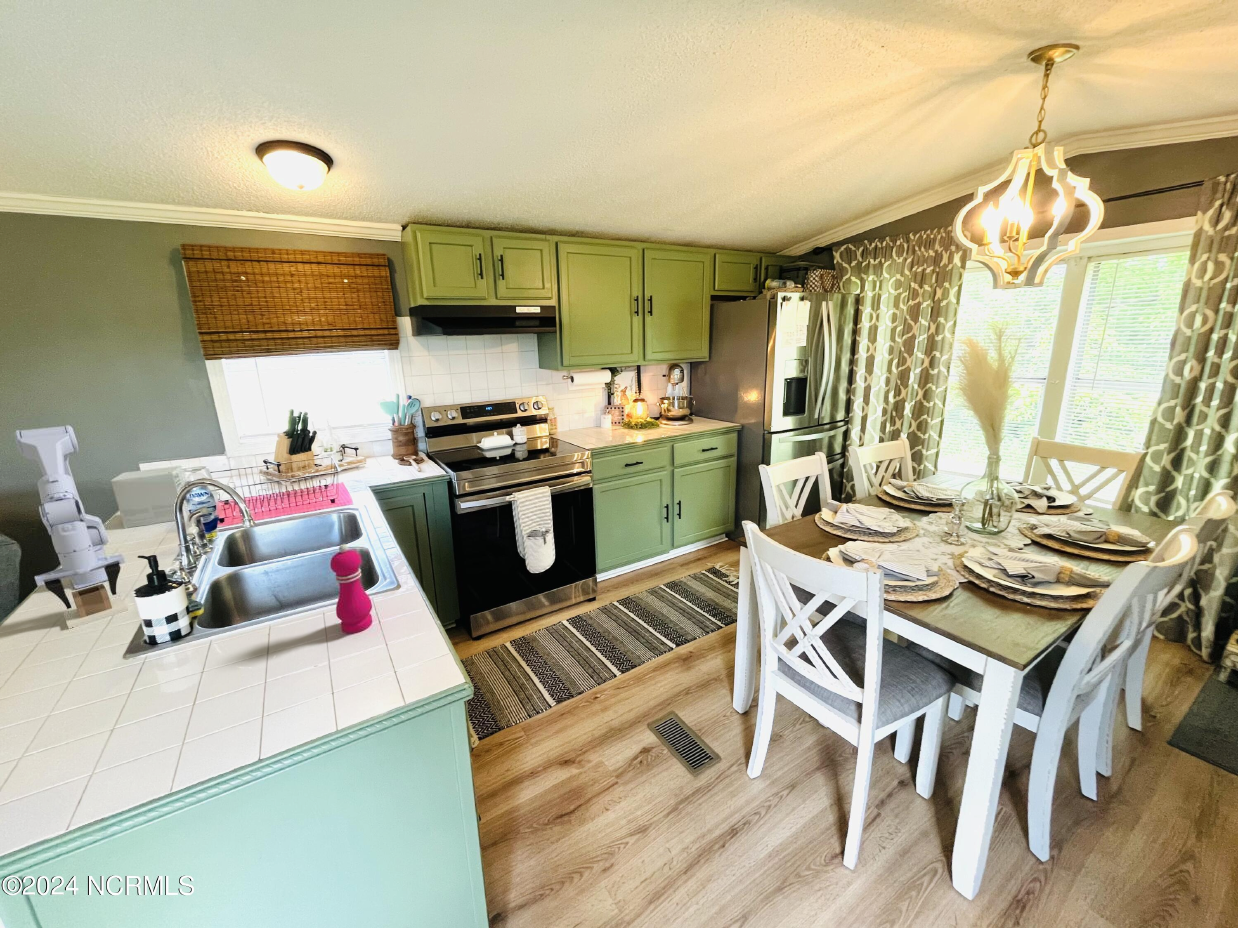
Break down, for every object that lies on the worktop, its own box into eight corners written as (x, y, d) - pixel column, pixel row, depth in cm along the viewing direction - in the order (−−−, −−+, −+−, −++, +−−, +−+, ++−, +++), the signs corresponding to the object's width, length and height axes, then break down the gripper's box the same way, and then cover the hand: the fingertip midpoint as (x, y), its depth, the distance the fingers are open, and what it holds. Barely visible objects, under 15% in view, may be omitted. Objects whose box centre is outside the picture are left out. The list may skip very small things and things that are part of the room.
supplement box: (194, 509, 195) (182, 464, 190) (185, 519, 184) (173, 472, 179) (135, 517, 187) (122, 471, 182) (123, 529, 176) (108, 480, 171)
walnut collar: (77, 610, 120) (71, 592, 119) (108, 601, 125) (102, 583, 123) (80, 618, 117) (74, 599, 116) (112, 608, 121) (106, 589, 120)
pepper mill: (360, 636, 109) (345, 553, 104) (331, 633, 111) (315, 550, 105) (381, 618, 116) (368, 539, 111) (354, 615, 117) (340, 537, 112)
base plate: (64, 616, 120) (57, 597, 119) (120, 598, 128) (115, 581, 126) (68, 629, 115) (62, 609, 113) (127, 609, 122) (122, 591, 121)
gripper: (29, 564, 109) (49, 619, 112) (120, 542, 120) (135, 592, 123) (27, 556, 113) (46, 609, 116) (115, 535, 124) (130, 584, 128)
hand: (92, 600), depth 120 cm, fingers open, 7 cm apart
